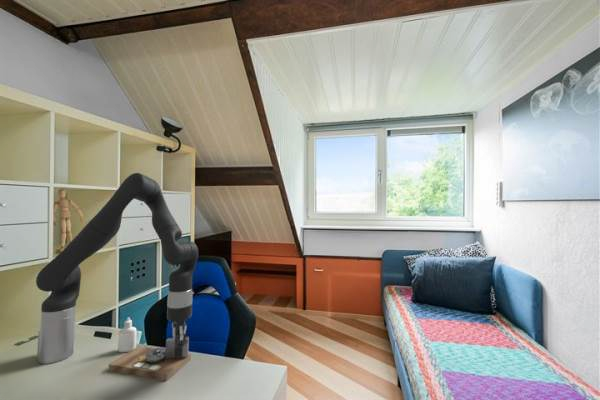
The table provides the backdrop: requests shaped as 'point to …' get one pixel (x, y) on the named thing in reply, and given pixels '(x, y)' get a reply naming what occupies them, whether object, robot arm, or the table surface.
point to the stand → (147, 365)
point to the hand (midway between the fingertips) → (178, 356)
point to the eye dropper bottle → (127, 337)
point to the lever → (164, 352)
